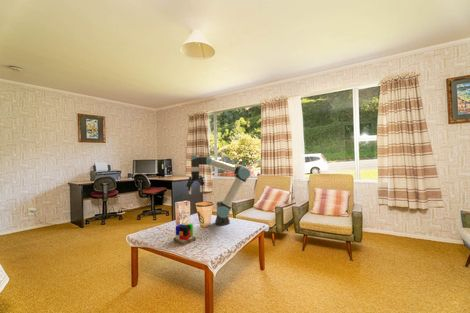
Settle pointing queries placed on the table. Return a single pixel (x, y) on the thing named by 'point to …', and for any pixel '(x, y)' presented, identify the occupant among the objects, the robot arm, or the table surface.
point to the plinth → (183, 242)
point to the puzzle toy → (184, 231)
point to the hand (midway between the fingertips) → (195, 193)
